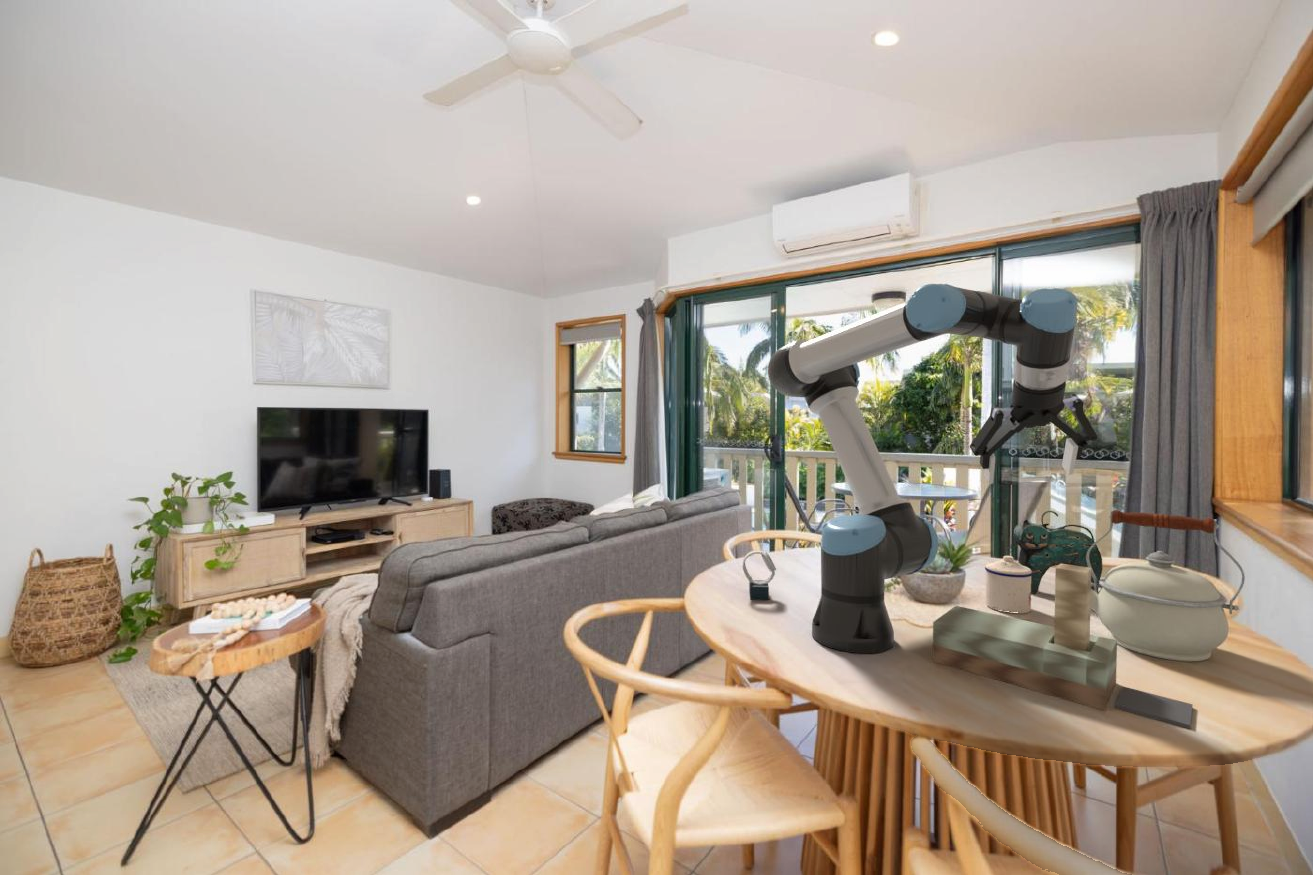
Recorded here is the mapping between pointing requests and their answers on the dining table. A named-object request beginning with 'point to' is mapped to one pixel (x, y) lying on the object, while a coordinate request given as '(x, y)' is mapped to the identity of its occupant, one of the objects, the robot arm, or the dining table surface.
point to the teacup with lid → (1008, 586)
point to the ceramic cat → (1054, 549)
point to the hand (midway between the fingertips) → (1027, 474)
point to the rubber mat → (1155, 707)
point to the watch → (759, 587)
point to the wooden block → (1072, 606)
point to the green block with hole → (1025, 655)
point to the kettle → (1162, 598)
